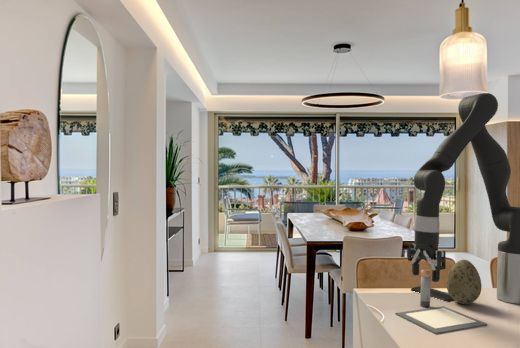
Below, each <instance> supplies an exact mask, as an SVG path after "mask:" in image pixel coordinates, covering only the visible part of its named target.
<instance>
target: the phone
mask: <svg viewBox="0 0 520 348" xmlns="http://www.w3.org/2000/svg"><path fill="white" fill-rule="evenodd" d="M410 291H411V292H413V291H415V292H414V293H416V292H419V293H421V285H420V286H416V287H411V288H410ZM419 293H418V294H419ZM430 296H431V297H430V298H432V297H434V298H433V299H435V298H437V299H436V300H438V299H440V300H439V301H441V300H443V302H445V301H448V302H451V300H452V301H455V300H454V299H453V298H452V297H451V296H450V295H449V293H448V292H446V291H442V290H438V289H435V288H433V287H432V288H431V287H430Z"/></svg>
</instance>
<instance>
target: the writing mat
mask: <svg viewBox="0 0 520 348" xmlns="http://www.w3.org/2000/svg"><path fill="white" fill-rule="evenodd" d="M395 315H396V316H398V317H400V318H402V319H404V320H407V322H411V323H412V324H414V325H416V326H418V327H420V328H422V329H424V330H426V331H428V332H430V333H432V334H434V335H438V334H445V333H450V332H456V331H463V330H466V329H467V330H468V329H473V328H478V327H484V326H488V323H486V322H484V321H481V320H479V319H477V318H474V317H471V316H469V315H466V314H464V313H461V312H459V311H457V310H455V309H452V308H450V307H447V306H444V305H441V306H436V307H434V306H433V307H429V308H420V309H414V310H406V311H400V312H395Z"/></svg>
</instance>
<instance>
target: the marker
mask: <svg viewBox="0 0 520 348" xmlns="http://www.w3.org/2000/svg"><path fill="white" fill-rule="evenodd" d="M431 282H432V270H430V269H426V268H423V269H422V268H421V269H420V286H421V294H420V299H419V300H420V301H419V303H420V304H419V306H420V307H422V308H425V309H427V308H431V297H430V288H431Z"/></svg>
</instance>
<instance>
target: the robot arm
mask: <svg viewBox="0 0 520 348" xmlns="http://www.w3.org/2000/svg"><path fill="white" fill-rule="evenodd" d="M498 107H499V101H498V99H497V98H496V96H495V95H494V94H492V93H488V92H483V93H478V94H477V93H476V94H474V95H468V96H465V97H463V98H462V99H461V100H460V101H459V103H458V109H457V110H458V115H459V118H460V120H461V122H462V123H461V125H460V126H458V127H457V128H456V129H455V130H454V131H452V132H451V133H450V134H449V135H448V136H447V137H445V139H444V140H443V141H442V142H441V143H440V145H438V147H437V149H436V150H435V151H434V153H433V155H432V156H431V157H430V158H429V159H428V160H427V161H426V162H424V163H423V164H422V166H420V167H419V168H418V170H417V171H416V173H415V174H414V176H413V185H414V187H415V188H416V189H417V190H419V191H423V192H424V194H423V197H422V198H419V199H417V201H416V210H415V211H416V213H415V221H414V243H409V244H408V248H407V249H408V251H407V261H409V262H411V264H412V268H411V273H412V275H413V276H419V275H420V264H419V263H420V262H421V261H422V260H424V261H426V262H428V264H429V265H430V267H431V269H432V270H431V282H433V283H436V282H439V280H440V278H441V277H440V276H441V275H440V274H441V273H440V272H441V271H442V270H443V271H444V270H446V264H447V263H446V262H447V261H446V260H447V259H446V250H438V245H439V244H440V204H441V202H442V198H443V194H444V191H445V188H446V178H445V175H444V174H443V172H446V171H448V170H450V169H451V168H453V165H454V164H455V163H456V161H457V160H458V158H459V157H460V155H461V154H462V152H463V151H464V149H466V148H467V145H469V143H470V144H471V147H472V149H473V153H474V154H475V158H476V159H475V160H476V161H477V165H478V169H479V172H480V175H481V177H482V180H483V184H484V187H485V191H486V194H487V198H488V202H489V207H490V212H491V218H492V221H493V224H494V226H495V227H496V228H497V229H498V230H500V231H502V232H508V233H509V235H508V238H507V239H506V240H502V241H499V242H498V243H497V261H496V262H497V264H496V266H497V268H496V299H498V300H500V301H502V302H504V303H505V302H506V303H511V304H516V305H517V304H518V305H519V304H520V207H518V206H511V205H510V202H509V200H508V196H507V187H508V184H509V181H510V179H511V174H512V173H511V172H512V169H511V165H510V162H509V158H508V155H507V153H506V151H505V149H504V148H503V147H502V146H501V144H499V142H498V141H496V139H494V138H493V136H492V135H491V134H490V132H489V131H488V130H487V127H486V125H487V124H488V123H489V122H490V120H491V119H492V118H493V117H494V116H495V115H496V114H497V111H498Z"/></svg>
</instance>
